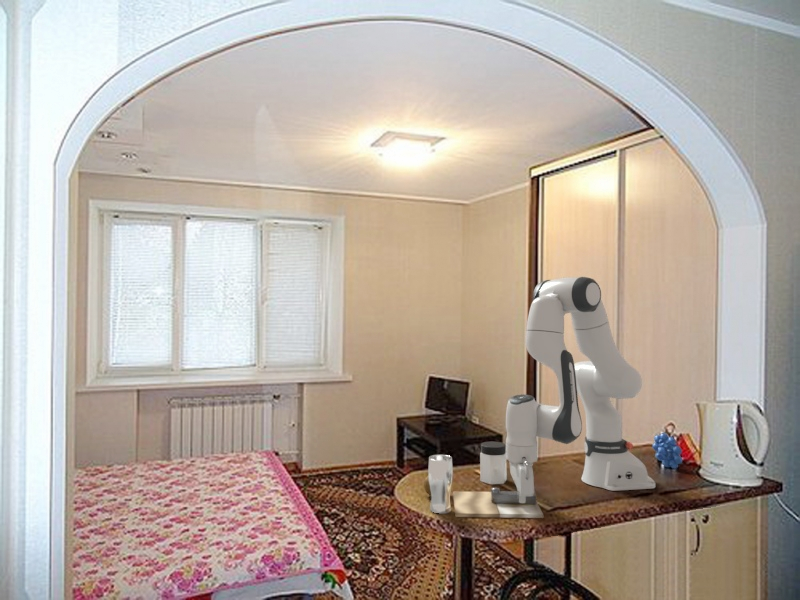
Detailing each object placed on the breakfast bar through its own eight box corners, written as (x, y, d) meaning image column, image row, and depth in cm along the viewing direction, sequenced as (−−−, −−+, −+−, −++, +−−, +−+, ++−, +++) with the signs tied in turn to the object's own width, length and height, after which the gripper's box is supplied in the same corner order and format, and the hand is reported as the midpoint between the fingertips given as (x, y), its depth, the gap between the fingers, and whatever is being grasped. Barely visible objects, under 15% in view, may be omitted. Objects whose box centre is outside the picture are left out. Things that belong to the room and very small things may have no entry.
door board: (531, 495, 177) (531, 484, 177) (543, 517, 159) (543, 505, 159) (452, 494, 178) (452, 483, 178) (455, 516, 160) (455, 504, 160)
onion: (452, 493, 179) (452, 467, 179) (443, 501, 172) (443, 474, 172) (430, 490, 182) (430, 464, 182) (419, 498, 175) (419, 471, 175)
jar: (483, 485, 187) (483, 448, 186) (477, 477, 195) (476, 441, 195) (510, 483, 188) (510, 447, 188) (502, 476, 196) (502, 440, 196)
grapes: (644, 465, 208) (644, 431, 208) (657, 462, 211) (657, 429, 211) (673, 473, 197) (673, 438, 197) (686, 470, 201) (686, 436, 201)
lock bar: (491, 502, 167) (491, 490, 167) (491, 499, 170) (490, 486, 170) (536, 504, 166) (536, 491, 166) (534, 500, 169) (534, 487, 169)
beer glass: (425, 512, 163) (425, 459, 163) (432, 504, 170) (432, 453, 170) (449, 516, 161) (448, 462, 161) (455, 507, 167) (455, 455, 167)
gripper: (539, 463, 154) (539, 515, 154) (526, 444, 174) (526, 490, 175) (515, 463, 154) (515, 515, 154) (505, 444, 175) (505, 489, 175)
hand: (521, 501), depth 165 cm, fingers closed
